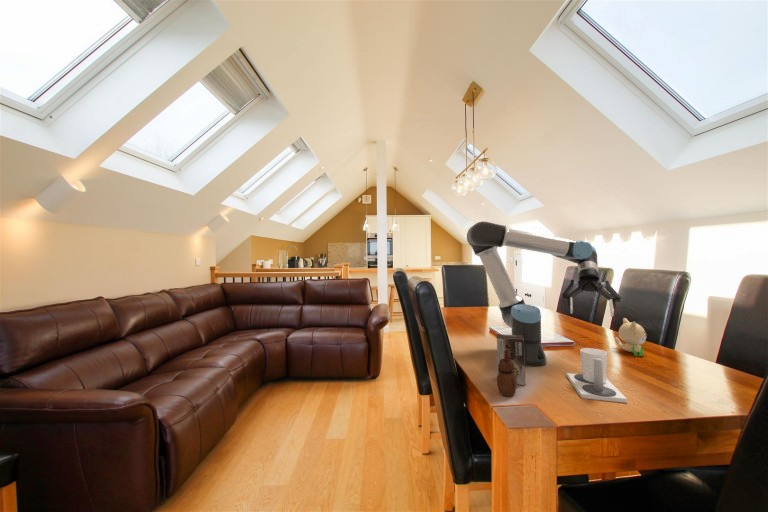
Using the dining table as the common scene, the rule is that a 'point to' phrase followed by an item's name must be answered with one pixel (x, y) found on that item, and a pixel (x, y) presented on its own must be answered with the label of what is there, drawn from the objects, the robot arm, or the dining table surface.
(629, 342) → the kitten
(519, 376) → the coffee box
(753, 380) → the dining table surface
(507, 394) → the wooden figurine
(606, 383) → the board
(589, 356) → the white cup
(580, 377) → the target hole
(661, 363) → the dining table surface
